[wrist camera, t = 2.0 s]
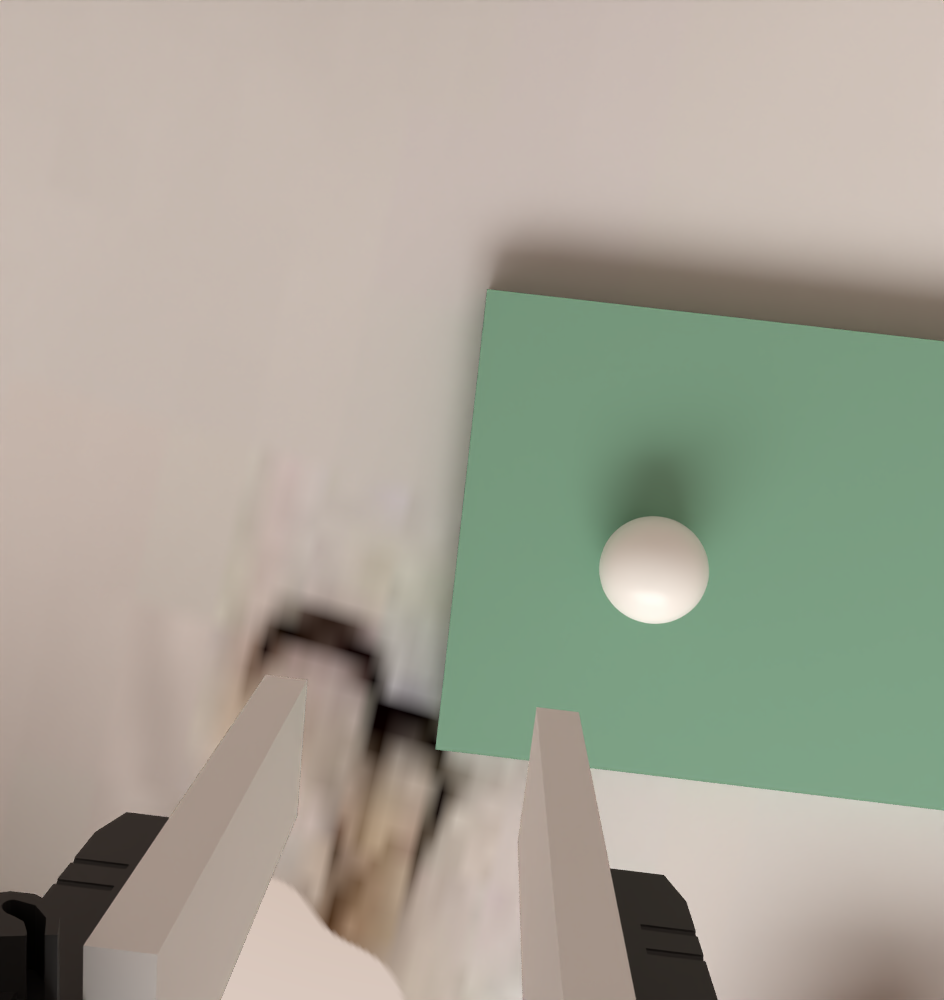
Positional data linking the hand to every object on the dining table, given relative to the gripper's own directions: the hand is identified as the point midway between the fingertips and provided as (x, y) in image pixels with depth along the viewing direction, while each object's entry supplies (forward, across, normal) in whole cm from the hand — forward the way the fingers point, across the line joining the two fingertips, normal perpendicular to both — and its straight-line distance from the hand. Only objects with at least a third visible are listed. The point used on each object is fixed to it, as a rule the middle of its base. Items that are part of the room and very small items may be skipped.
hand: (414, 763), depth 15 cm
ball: (+15, -7, 0) cm, 16 cm away
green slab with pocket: (+19, -17, 0) cm, 25 cm away
